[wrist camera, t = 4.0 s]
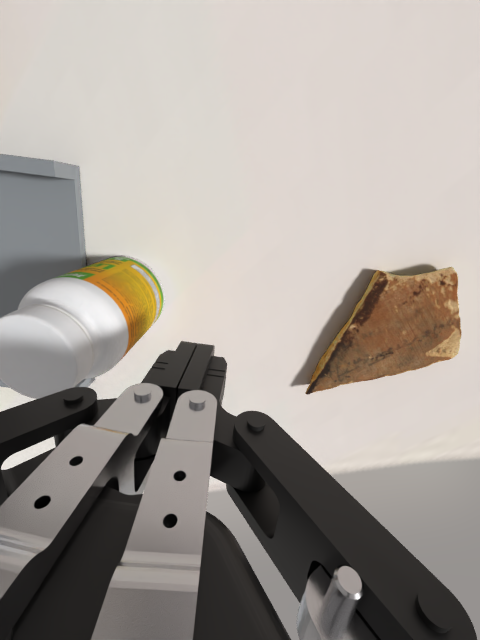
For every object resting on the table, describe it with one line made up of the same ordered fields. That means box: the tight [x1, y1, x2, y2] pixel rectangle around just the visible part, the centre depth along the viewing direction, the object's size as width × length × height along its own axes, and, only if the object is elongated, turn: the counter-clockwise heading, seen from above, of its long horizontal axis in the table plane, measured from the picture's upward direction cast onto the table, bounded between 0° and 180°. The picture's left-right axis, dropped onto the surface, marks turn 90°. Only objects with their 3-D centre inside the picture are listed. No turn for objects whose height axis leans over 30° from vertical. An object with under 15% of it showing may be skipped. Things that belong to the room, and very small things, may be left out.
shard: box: [306, 267, 461, 394], centre depth 20 cm, size 11×8×2 cm
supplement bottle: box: [0, 256, 165, 399], centre depth 16 cm, size 5×5×10 cm
